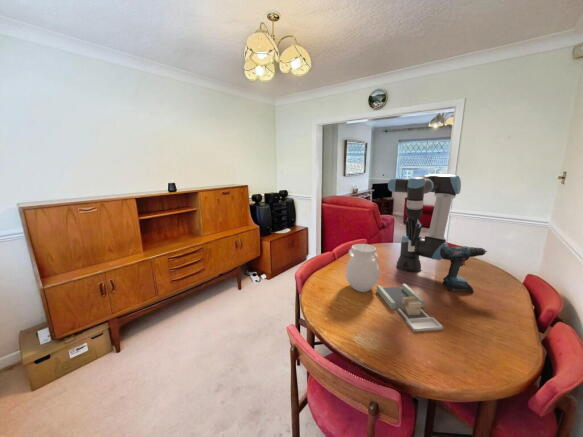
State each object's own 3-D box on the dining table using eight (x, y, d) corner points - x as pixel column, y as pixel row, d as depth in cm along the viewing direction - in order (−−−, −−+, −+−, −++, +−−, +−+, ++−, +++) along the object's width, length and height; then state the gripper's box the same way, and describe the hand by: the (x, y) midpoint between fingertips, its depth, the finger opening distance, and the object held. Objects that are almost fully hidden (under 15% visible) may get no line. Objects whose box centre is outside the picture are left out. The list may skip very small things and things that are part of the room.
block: (401, 308, 124) (402, 297, 122) (413, 307, 124) (414, 296, 123) (408, 315, 118) (409, 304, 116) (420, 314, 118) (421, 303, 117)
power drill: (485, 293, 136) (492, 250, 130) (439, 289, 141) (444, 248, 135) (477, 285, 144) (483, 244, 139) (433, 282, 149) (438, 243, 143)
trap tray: (405, 321, 114) (405, 318, 114) (432, 319, 115) (433, 316, 114) (414, 331, 107) (414, 328, 107) (442, 329, 108) (443, 326, 108)
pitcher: (383, 286, 145) (386, 246, 140) (369, 299, 132) (371, 255, 127) (354, 277, 158) (356, 240, 152) (339, 288, 145) (340, 247, 139)
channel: (376, 291, 141) (377, 285, 140) (404, 289, 142) (405, 283, 141) (391, 309, 124) (392, 303, 123) (423, 307, 125) (424, 300, 124)
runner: (378, 288, 144) (378, 287, 143) (399, 287, 144) (399, 286, 144) (405, 321, 114) (405, 319, 114) (431, 319, 115) (432, 317, 115)
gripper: (400, 205, 133) (398, 247, 139) (414, 211, 120) (410, 256, 126) (414, 205, 133) (411, 246, 139) (429, 210, 121) (425, 255, 127)
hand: (411, 250), depth 133 cm, fingers closed
